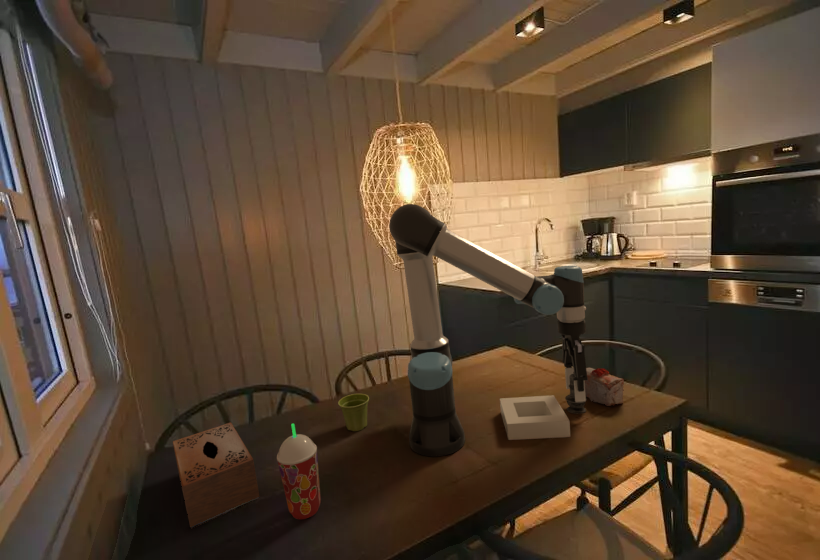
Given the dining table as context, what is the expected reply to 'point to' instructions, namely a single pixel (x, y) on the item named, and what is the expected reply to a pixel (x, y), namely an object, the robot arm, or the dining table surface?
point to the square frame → (534, 418)
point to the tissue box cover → (214, 472)
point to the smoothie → (300, 475)
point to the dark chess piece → (573, 405)
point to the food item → (603, 387)
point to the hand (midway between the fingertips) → (575, 394)
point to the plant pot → (354, 411)
